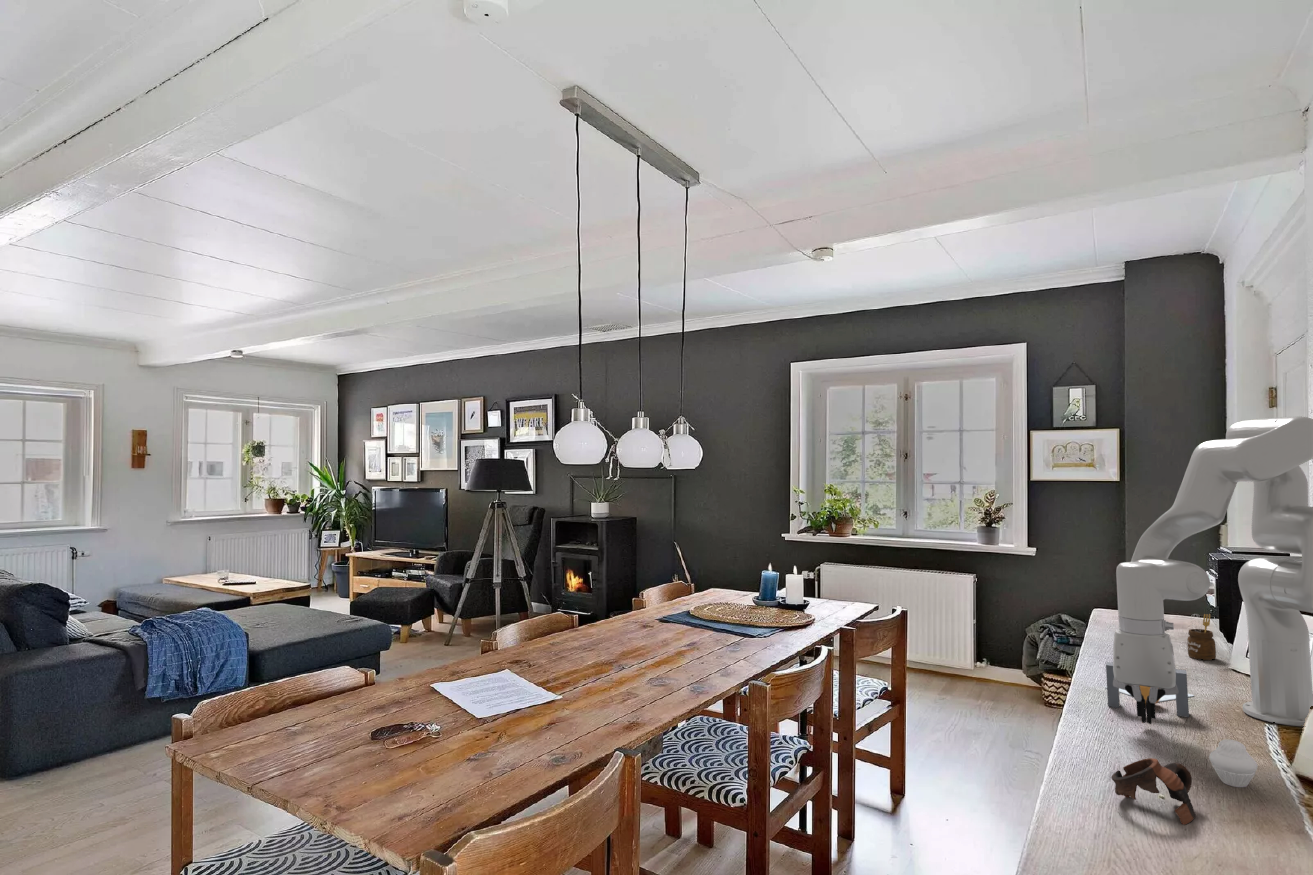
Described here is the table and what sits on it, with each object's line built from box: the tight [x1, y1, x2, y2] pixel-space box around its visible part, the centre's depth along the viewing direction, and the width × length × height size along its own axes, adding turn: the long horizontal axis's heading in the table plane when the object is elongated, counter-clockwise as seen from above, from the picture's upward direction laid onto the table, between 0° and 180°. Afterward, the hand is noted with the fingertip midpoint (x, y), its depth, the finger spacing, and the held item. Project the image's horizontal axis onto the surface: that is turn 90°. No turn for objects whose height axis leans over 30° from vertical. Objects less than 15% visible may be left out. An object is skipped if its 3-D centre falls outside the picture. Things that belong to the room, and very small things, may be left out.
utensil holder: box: [1186, 613, 1217, 661], centre depth 191 cm, size 6×6×12 cm
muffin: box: [1208, 738, 1258, 788], centre depth 118 cm, size 6×6×7 cm
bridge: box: [1105, 661, 1190, 718], centre depth 153 cm, size 3×14×9 cm, turn 56°
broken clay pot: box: [1111, 757, 1197, 826], centre depth 111 cm, size 12×10×8 cm
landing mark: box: [1104, 685, 1195, 703], centre depth 165 cm, size 12×12×1 cm
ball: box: [1140, 686, 1160, 705], centre depth 157 cm, size 5×5×5 cm
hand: (1146, 721), depth 143 cm, fingers closed
